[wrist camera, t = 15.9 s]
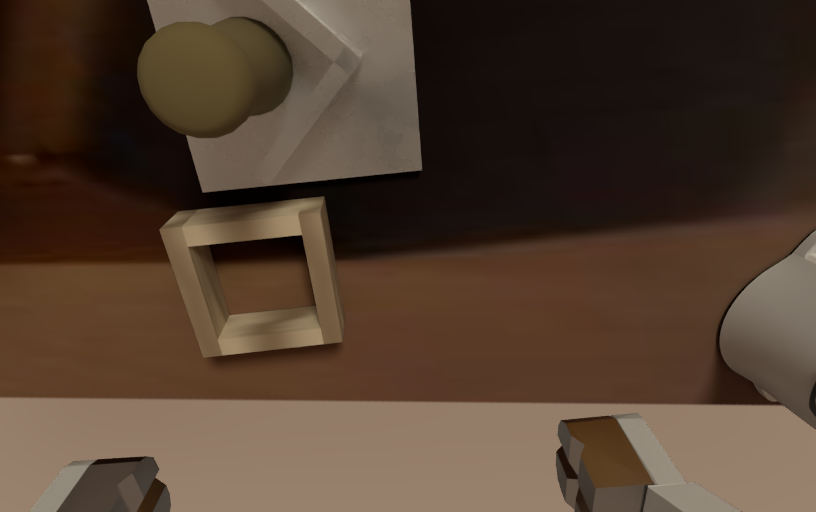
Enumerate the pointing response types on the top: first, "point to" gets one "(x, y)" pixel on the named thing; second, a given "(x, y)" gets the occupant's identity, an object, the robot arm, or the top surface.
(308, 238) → the wooden holder
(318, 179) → the white ridged plate
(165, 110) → the cork
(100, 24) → the top surface
